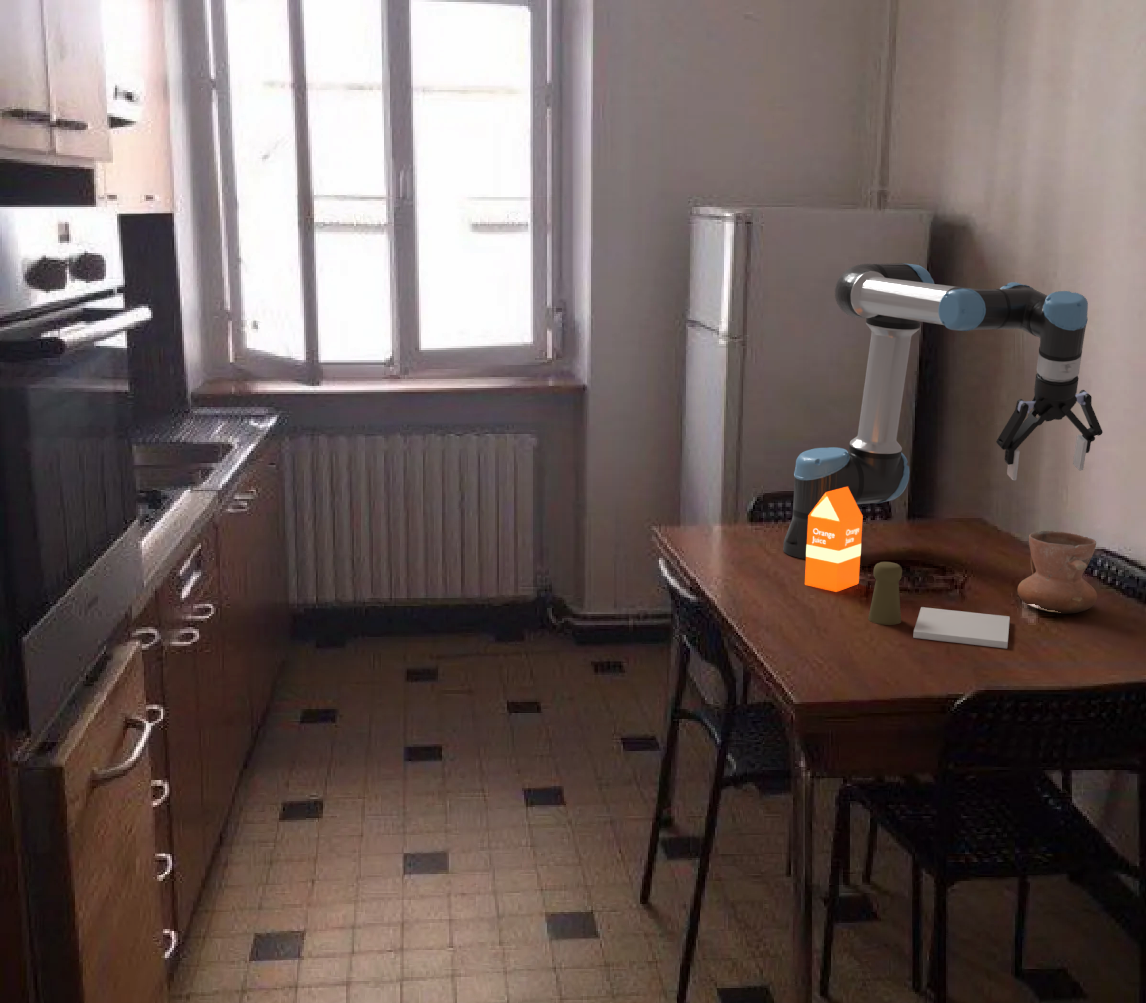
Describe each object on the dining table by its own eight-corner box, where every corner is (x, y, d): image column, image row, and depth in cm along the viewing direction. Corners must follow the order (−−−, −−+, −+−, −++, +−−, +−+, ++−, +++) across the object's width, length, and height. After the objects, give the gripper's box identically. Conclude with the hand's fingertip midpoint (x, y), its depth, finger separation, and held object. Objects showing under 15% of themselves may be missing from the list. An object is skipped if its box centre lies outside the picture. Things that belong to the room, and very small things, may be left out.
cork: (903, 617, 237) (907, 561, 235) (897, 626, 232) (901, 568, 229) (871, 613, 239) (875, 557, 237) (864, 622, 234) (868, 564, 232)
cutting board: (913, 637, 225) (913, 631, 225) (920, 613, 240) (921, 607, 240) (1007, 648, 220) (1007, 642, 220) (1009, 622, 235) (1009, 616, 234)
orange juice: (859, 583, 260) (865, 489, 256) (836, 592, 253) (842, 495, 249) (826, 576, 265) (831, 483, 261) (803, 584, 259) (808, 489, 254)
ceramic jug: (1113, 620, 237) (1121, 547, 234) (1039, 621, 235) (1046, 547, 233) (1067, 595, 254) (1074, 527, 252) (998, 595, 253) (1004, 526, 250)
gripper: (1002, 392, 231) (991, 490, 242) (1131, 373, 233) (1115, 472, 244) (985, 374, 238) (975, 471, 249) (1110, 356, 239) (1096, 453, 250)
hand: (1044, 472), depth 246 cm, fingers open, 13 cm apart
